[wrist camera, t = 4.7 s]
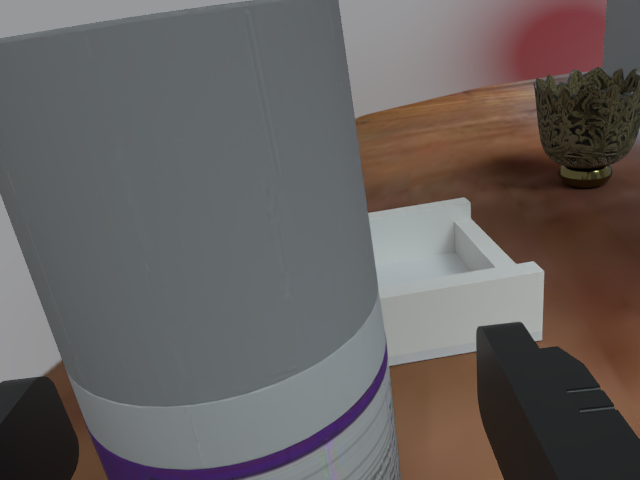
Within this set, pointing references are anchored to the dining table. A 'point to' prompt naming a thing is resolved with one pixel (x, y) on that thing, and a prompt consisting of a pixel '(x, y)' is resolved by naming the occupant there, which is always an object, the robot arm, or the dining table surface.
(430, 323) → the white drawer
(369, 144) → the dining table surface
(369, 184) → the dining table surface
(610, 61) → the perfume bottle
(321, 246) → the container
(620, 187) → the dining table surface
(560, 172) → the cup
